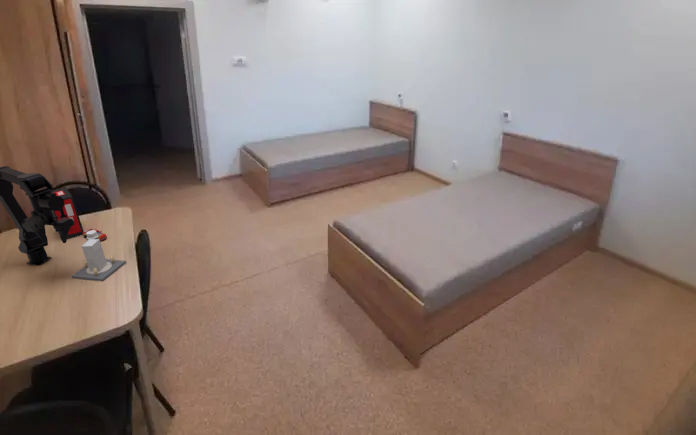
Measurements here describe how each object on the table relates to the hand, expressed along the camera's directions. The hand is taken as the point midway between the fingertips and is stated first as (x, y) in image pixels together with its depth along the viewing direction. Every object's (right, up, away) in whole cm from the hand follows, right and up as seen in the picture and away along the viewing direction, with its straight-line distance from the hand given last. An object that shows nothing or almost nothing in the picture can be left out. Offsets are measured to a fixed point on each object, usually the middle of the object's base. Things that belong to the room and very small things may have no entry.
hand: (54, 242), depth 160 cm
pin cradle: (+15, -12, +5) cm, 20 cm away
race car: (-3, 0, +31) cm, 31 cm away
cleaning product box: (-20, +3, +37) cm, 42 cm away
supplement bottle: (+3, -4, +22) cm, 22 cm away
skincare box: (+15, -11, +5) cm, 19 cm away
